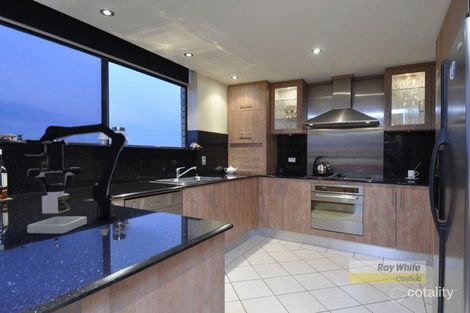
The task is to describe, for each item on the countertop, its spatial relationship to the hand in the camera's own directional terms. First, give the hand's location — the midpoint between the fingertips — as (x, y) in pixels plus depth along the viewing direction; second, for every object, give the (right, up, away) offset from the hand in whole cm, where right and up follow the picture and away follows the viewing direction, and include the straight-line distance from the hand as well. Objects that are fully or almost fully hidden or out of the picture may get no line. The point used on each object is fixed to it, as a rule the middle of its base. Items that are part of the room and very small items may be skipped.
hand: (56, 191), depth 111 cm
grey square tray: (+8, -13, -10) cm, 18 cm away
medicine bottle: (0, -9, 0) cm, 9 cm away
